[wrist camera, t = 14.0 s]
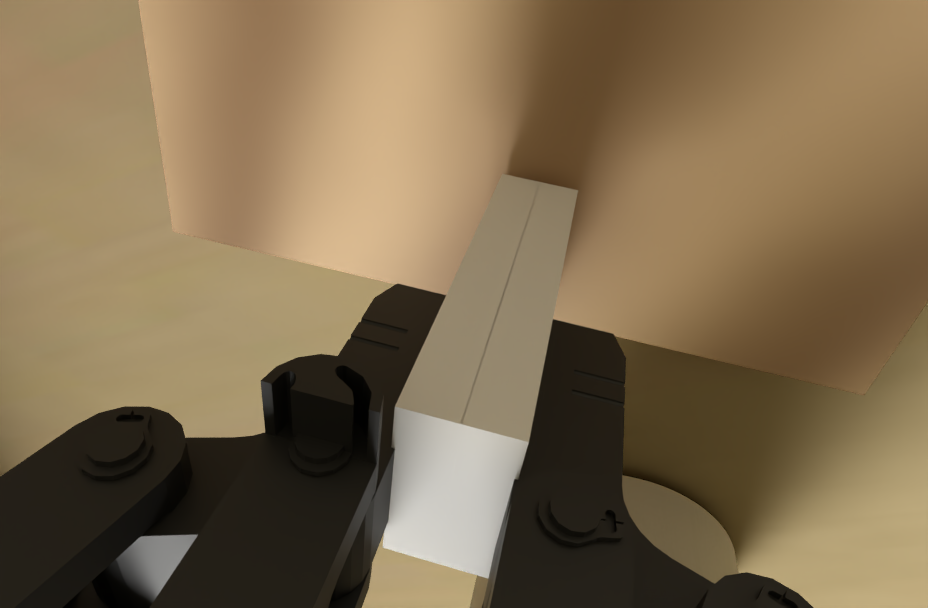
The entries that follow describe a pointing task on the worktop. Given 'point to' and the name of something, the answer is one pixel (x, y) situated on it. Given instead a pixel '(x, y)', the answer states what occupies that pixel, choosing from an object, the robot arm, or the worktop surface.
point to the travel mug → (669, 532)
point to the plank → (576, 155)
